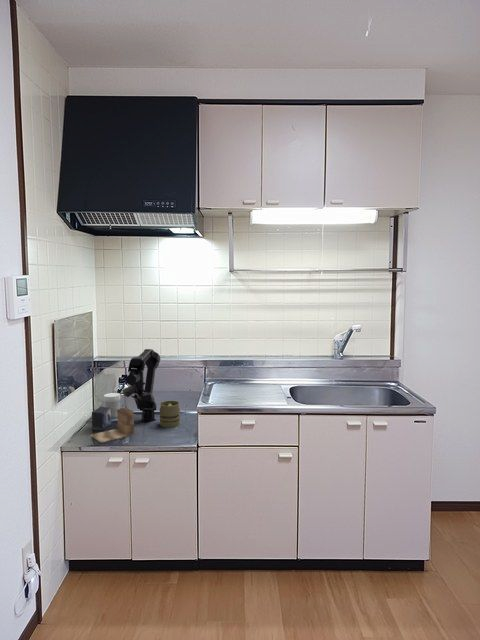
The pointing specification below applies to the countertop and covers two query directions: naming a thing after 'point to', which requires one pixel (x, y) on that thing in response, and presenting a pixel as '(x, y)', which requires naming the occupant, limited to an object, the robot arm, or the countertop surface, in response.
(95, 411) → the small box
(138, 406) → the robot arm
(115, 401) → the supplement tub
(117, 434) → the cutting board
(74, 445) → the countertop surface
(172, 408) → the piston
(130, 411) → the brown rectangular block
